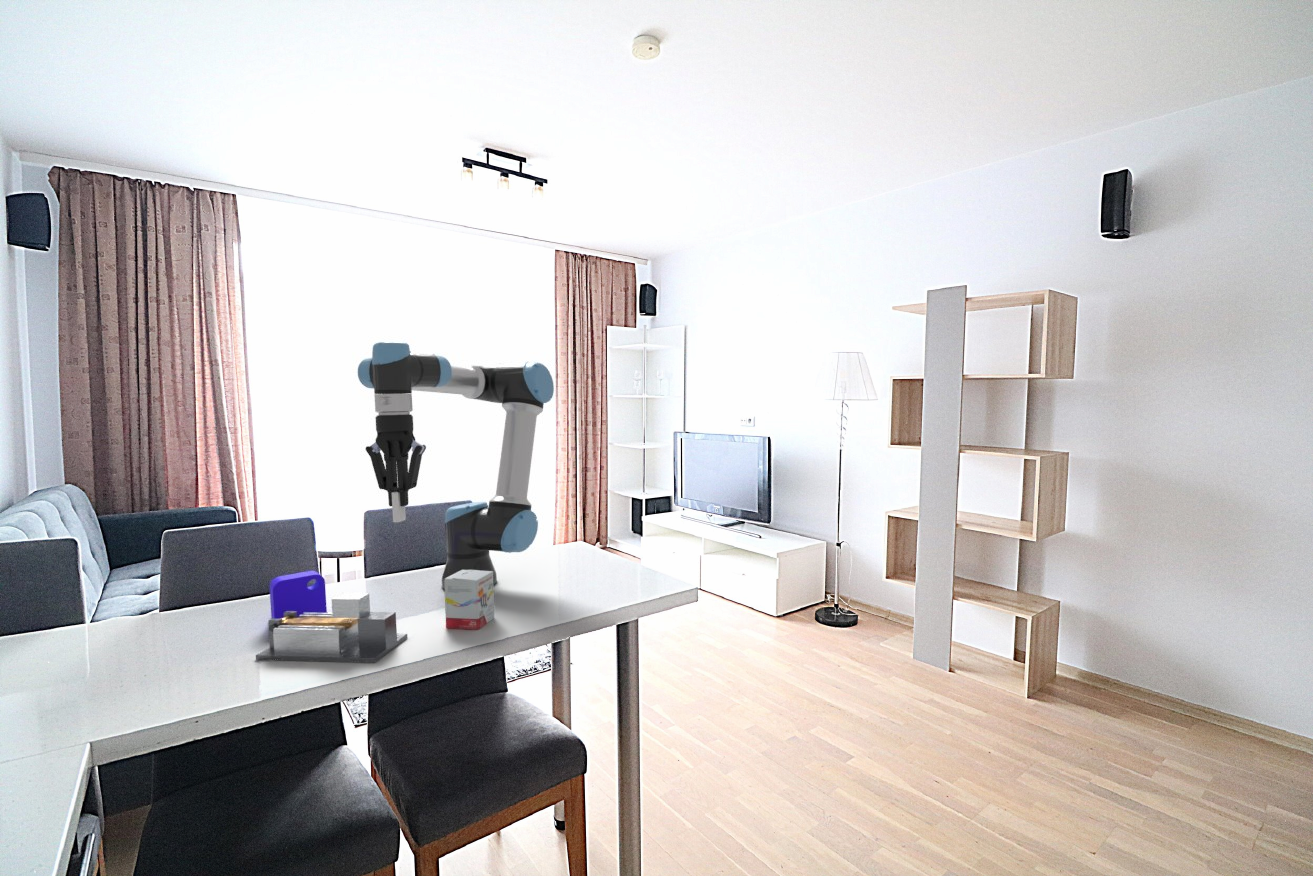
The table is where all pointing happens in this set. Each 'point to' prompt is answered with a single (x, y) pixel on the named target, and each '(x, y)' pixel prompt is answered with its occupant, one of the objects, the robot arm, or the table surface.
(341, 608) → the white block
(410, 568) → the table surface
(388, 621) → the base
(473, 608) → the ink box
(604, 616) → the table surface
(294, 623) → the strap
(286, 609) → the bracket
